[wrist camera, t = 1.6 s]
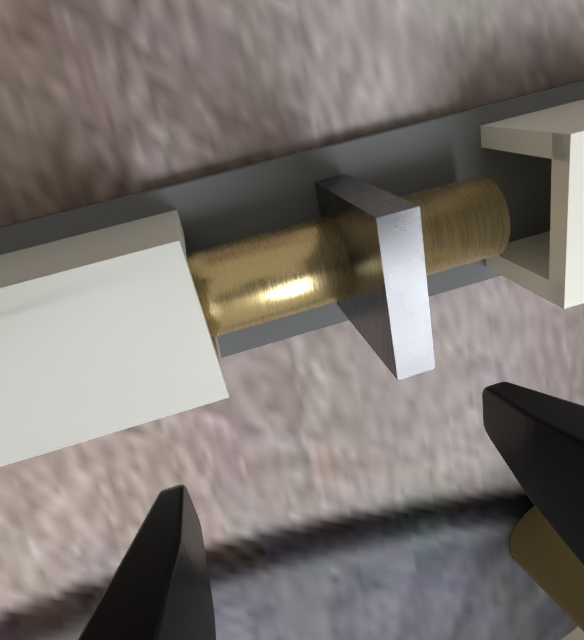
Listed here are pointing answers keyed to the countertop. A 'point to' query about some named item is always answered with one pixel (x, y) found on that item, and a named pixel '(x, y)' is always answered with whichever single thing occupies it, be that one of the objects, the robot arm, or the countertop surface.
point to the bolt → (357, 263)
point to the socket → (566, 203)
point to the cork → (549, 563)
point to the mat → (302, 205)
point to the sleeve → (101, 337)
